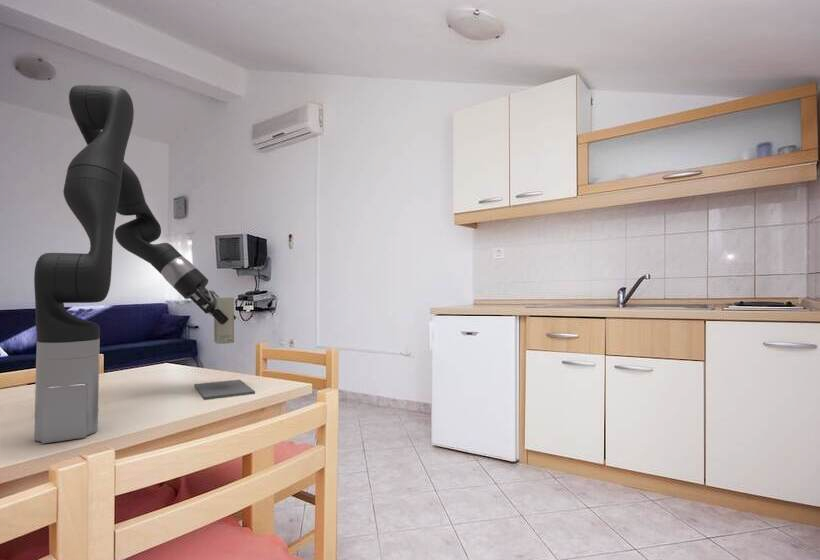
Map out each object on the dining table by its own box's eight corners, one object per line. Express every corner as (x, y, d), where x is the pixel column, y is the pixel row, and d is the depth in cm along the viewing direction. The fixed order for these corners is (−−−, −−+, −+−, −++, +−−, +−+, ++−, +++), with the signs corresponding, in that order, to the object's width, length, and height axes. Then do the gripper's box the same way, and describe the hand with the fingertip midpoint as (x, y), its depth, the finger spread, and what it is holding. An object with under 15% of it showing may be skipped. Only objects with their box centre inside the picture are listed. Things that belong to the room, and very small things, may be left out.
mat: (255, 393, 113) (255, 391, 113) (204, 399, 107) (204, 397, 107) (239, 381, 129) (239, 379, 129) (194, 386, 122) (194, 384, 122)
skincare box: (234, 343, 116) (235, 297, 117) (216, 344, 114) (216, 297, 115) (230, 341, 122) (231, 297, 122) (213, 341, 120) (213, 297, 120)
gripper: (185, 266, 110) (233, 312, 112) (204, 269, 125) (246, 310, 126) (162, 287, 110) (211, 333, 111) (184, 287, 124) (226, 329, 125)
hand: (229, 321), depth 118 cm, fingers closed on skincare box, 7 cm apart
